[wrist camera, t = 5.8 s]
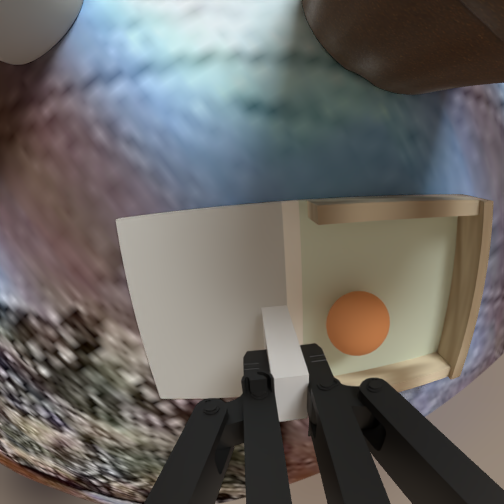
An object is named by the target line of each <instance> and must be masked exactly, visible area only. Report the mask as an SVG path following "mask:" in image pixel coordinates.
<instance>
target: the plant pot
mask: <svg viewBox="0 0 504 504" xmlns="http://www.w3.org/2000/svg"><path fill="white" fill-rule="evenodd" d="M302 4H303V9H304V13H305V16H306V19H307V21H308V23H309V26H310V28H311V29H312V31H313V33H314V35H315V36H316V38H317V39H318V41H319V42H320V43H321V45H322V46H323V47H324V48H325V50H326V51H327V52H328V53H329V54H330V55H331V56H332V57H333V58H334V59H335V60H336V61H337V62H338V63H340V64H341V65H342V66H343V67H344V68H346V69H347V70H350V71H352V72H355V73H357V74H359V75H360V76H362V77H363V78H365V79H366V80H368V81H369V82H371V83H372V84H373V85H374V86H376V87H378V88H380V89H383V90H386V91H389V92H393V93H398V94H407V95H418V94H425V93H430V92H435V91H440V90H446V89H451V88H458V87H465V86H473V85H482V84H492V83H504V0H302Z"/></svg>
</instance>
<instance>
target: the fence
mask: <svg viewBox="0 0 504 504" xmlns="http://www.w3.org/2000/svg"><path fill="white" fill-rule="evenodd" d="M383 196H387V197H370V196H357V197H360V198H340V197H336V198H339V199H321V200H307V210H308V218H309V219H311V220H312V221H313V222H315V223H316V224H317V225H325V224H338V223H352V222H366V221H381V220H397V219H414V218H431V217H450V216H458V219H457V235H456V247H455V257H454V266H453V274H452V281H451V287H450V294H449V299H448V305H447V310H446V315H445V320H444V325H443V329H442V334H441V338H440V342H439V346H438V350H437V352H434V353H431V354H427V355H424V356H420V357H417V358H413V359H409V360H406V361H402V362H398V363H394V364H389V365H385V366H381V367H376V368H372V369H367V370H363V371H358V372H353V373H347V374H342V375H336V376H334V377H335V378H336V379H338V380H339V381H340V382H341V384H344V385H348V386H360V384H361V383H362V381H364V380H365V379H368V378H381V379H383V380H385V381H386V382H388V383H389V384H390V385H391V386H392V387H393V388H394V389H395V390H396V391H397V392H401V391H404V390H408V389H411V388H414V387H418V386H421V385H424V384H427V383H430V382H433V381H436V380H439V379H442V378H445V377H447V376H448V377H449V378H450V379H454V378H457V377H459V376H460V374H461V371H462V368H463V365H464V362H465V359H466V356H467V353H468V350H469V346H470V343H471V340H472V336H473V332H474V329H475V325H476V321H477V317H478V313H479V308H480V304H481V299H482V294H483V289H484V283H485V278H486V272H487V265H488V258H489V250H490V241H491V231H492V217H493V201H490V200H486V199H482V198H477V197H472V196H467V195H463V194H432V195H383Z"/></svg>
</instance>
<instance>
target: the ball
mask: <svg viewBox="0 0 504 504" xmlns="http://www.w3.org/2000/svg"><path fill="white" fill-rule="evenodd" d="M389 327H390V317H389V313H388V310H387V308H386V306H385V304H384V303H383V302H382V301H381V300H380V299H379V298H378V297H377V296H375V295H373V294H371V293H369V292H365V291H354V292H350V293H347V294H345V295H343V296H342V297H340V298H339V299H338V300H337V301H336V302H335V303H334V304H333V305H332V307H331V308H330V310H329V313H328V316H327V321H326V329H327V334H328V337H329V339H330V341H331V343H332V344H333V345H334V346H335V347H336V348H337V349H338V350H339V351H341V352H343V353H345V354H348V355H352V356H361V355H366V354H369V353H371V352H373V351H374V350H376V349H377V348H378V347H379V346H380V345H381V344H382V343H383V342H384V340H385V339H386V337H387V334H388V332H389Z"/></svg>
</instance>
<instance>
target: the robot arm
mask: <svg viewBox="0 0 504 504" xmlns="http://www.w3.org/2000/svg"><path fill="white" fill-rule="evenodd" d="M261 310H262V323H263V336H264V348H265V350H254V351H247V352H246V354H245V355H244V357H243V369H244V370H243V371H244V376H243V377H242V379H241V384H242V392H243V393H242V395H241V396H240V397H239V398H237V399H235V400H233V401H230V402H227V403H225V402H224V401H222V400H220V399H217V398H208V399H204V400H202V401H200V402H199V403H198V404H197V405H196V406H195V408H194V410H193V412H192V414H191V416H190V418H189V420H188V422H187V424H186V426H185V428H184V430H183V431H182V433H181V435H180V437H179V439H178V441H177V443H176V445H175V447H174V449H173V451H172V452H171V454H170V456H169V458H168V460H167V462H166V464H165V466H164V468H163V469H162V471H161V473H160V475H159V477H158V479H157V481H156V483H155V484H154V486H153V488H152V490H151V492H150V494H149V496H148V497H147V499H146V501H145V503H144V504H215V501H216V499H217V496H218V493H219V490H220V487H221V485H222V482H223V479H224V476H225V473H226V470H227V467H228V465H229V462H230V459H231V456H232V453H233V450H234V446H235V445H238V444H241V443H244V450H245V480H246V504H292V501H291V495H290V489H289V482H288V475H287V469H286V462H285V456H284V449H283V443H282V436H281V430H280V423H279V422H280V421H289V420H297V419H304V418H307V412H308V416H309V431H308V436H311V437H312V441H313V445H314V449H315V453H316V457H317V462H318V466H319V470H320V474H321V478H322V482H323V486H324V491H325V494H326V499H327V503H328V504H390V501H389V499H388V496H387V493H386V491H385V488H384V486H383V483H382V481H381V478H380V475H379V473H378V470H377V468H376V465H375V463H374V461H373V458H372V456H371V454H372V455H373V456H374V457H375V459H376V460H377V461H378V462H379V464H380V465H381V466H382V467H383V469H384V470H385V471H386V472H387V473H388V475H389V476H390V477H391V478H392V480H393V481H394V482H395V483H396V484H397V486H398V487H399V488H400V489H401V490H402V492H403V493H404V494H405V495H406V497H407V498H408V499H409V500H410V501H411V502H412V504H504V490H503V489H502V488H501V487H500V486H499V485H498V484H496V483H495V482H494V481H493V480H492V479H491V478H490V477H489V476H488V475H487V474H486V473H484V472H483V471H482V470H481V469H480V468H479V467H478V466H477V465H476V464H475V463H474V462H473V461H471V459H469V458H468V457H467V456H466V455H465V454H464V453H463V452H462V451H461V450H460V449H459V448H458V447H456V446H455V445H454V444H453V443H452V442H451V441H450V440H449V439H448V438H447V437H445V435H444V434H442V433H441V432H440V431H439V430H438V429H437V428H436V427H435V426H434V425H433V424H432V423H431V422H429V421H428V420H427V419H426V418H425V417H424V416H423V415H422V414H421V413H420V412H419V411H418V410H417V409H416V408H414V407H413V406H412V405H411V404H410V403H409V402H408V401H407V400H406V399H405V398H404V397H403V396H402V395H400V394H399V393H398V392H397V391H396V390H395V389H394V388H393V387H392V386H391V385H390V384H389V383H388V382H386V381H385V380H383V379H381V378H368V379H365V380H364V381H362V383H361V384H360V386H348V385H344V384H341V382H340V381H339V380H338V379H336V378H335V377H334V376H333V374H332V371H331V369H330V367H329V364H328V362H327V360H326V357H325V355H324V352H323V350H322V348H321V347H320V346H318V345H317V344H316V343H312V344H305V345H299V341H298V338H297V335H296V332H295V329H294V326H293V323H292V320H291V317H290V314H289V311H288V307H287V305H283V306H272V307H262V308H261ZM370 452H371V453H370Z"/></svg>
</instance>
